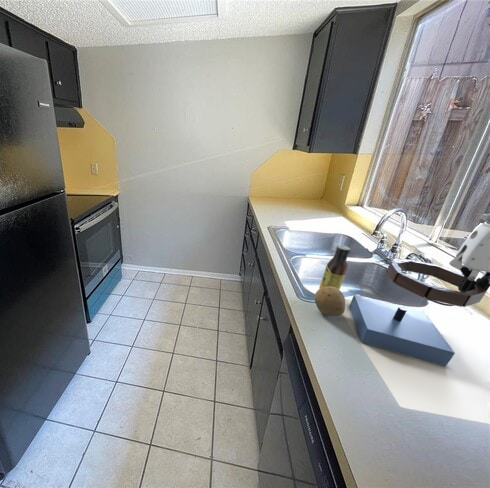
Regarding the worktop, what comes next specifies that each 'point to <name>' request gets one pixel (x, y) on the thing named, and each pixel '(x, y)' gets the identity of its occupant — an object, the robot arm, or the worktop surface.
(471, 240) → the robot arm
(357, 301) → the ring stand
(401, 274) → the walnut ring
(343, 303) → the brown potato
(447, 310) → the worktop surface
